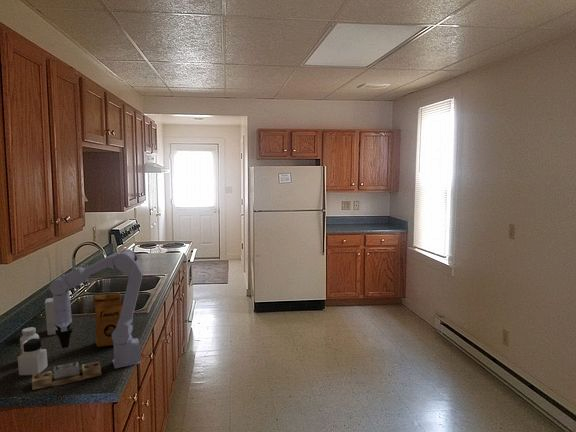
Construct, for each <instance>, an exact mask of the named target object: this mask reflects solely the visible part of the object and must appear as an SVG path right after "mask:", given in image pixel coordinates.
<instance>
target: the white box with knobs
mask: <svg viewBox="0 0 576 432" xmlns="http://www.w3.org/2000/svg"><path fill="white" fill-rule="evenodd" d="M79 368H80V364H79V361H74V362H70V363H66V364H60V365H54V366H53V374H54V378H53V379H54V381H58V380H62V379H67V378H72V377H76V376H81V373H79Z"/></svg>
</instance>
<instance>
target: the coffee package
mask: <svg viewBox="0 0 576 432" xmlns="http://www.w3.org/2000/svg"><path fill="white" fill-rule="evenodd" d="M93 302H94V303H93V304H94V311H95V317H94V318H95V320H94V322H95V327H96V328H95V330H96V331H95V344H96V347H98V348H99V347H101V348H102V347H108V346H113V340H112V333H113V331H114V330H115V329H116V326H117V323H118V320H119V317H120V313H121V309H122V305H123V304H122V298H121V293H120V292H119V293H111V294H100V295H94V296H93Z"/></svg>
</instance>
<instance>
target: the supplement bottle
mask: <svg viewBox="0 0 576 432" xmlns="http://www.w3.org/2000/svg"><path fill="white" fill-rule="evenodd" d="M36 331H37V329H36V327H33V326H30V327H25V328H23V329H22V330H21V336H20V338H19V345H20V355H21V354H23V349H22V343H23V342H24V341H26V340H28V339H33V338H36V339H40V336H39V334H38V333H36Z"/></svg>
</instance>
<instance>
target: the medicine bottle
mask: <svg viewBox="0 0 576 432" xmlns="http://www.w3.org/2000/svg"><path fill="white" fill-rule="evenodd" d="M22 349H23V354H21V353H20V355H19V356H17V364H18V365H17V366H18V375H19V376H32V375H33V374H38V373H43V371H44V370H45V369H46V368H47V367H48V363H49V362H48V354H47V353H48V351H47V349H46V348H42V340H40V338H39V339H36V338H33V339H28V340H26V341H24V342H23V343H22Z"/></svg>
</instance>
